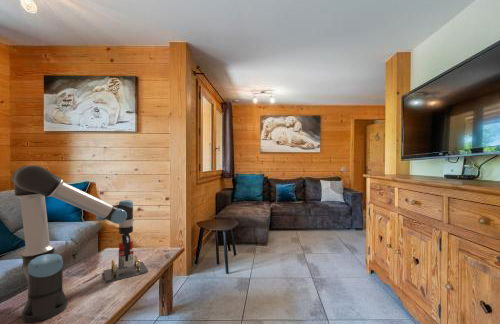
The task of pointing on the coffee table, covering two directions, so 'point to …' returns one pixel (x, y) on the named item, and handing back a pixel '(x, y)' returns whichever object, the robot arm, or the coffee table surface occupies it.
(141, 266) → the plate
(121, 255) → the ink box
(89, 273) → the coffee table surface
